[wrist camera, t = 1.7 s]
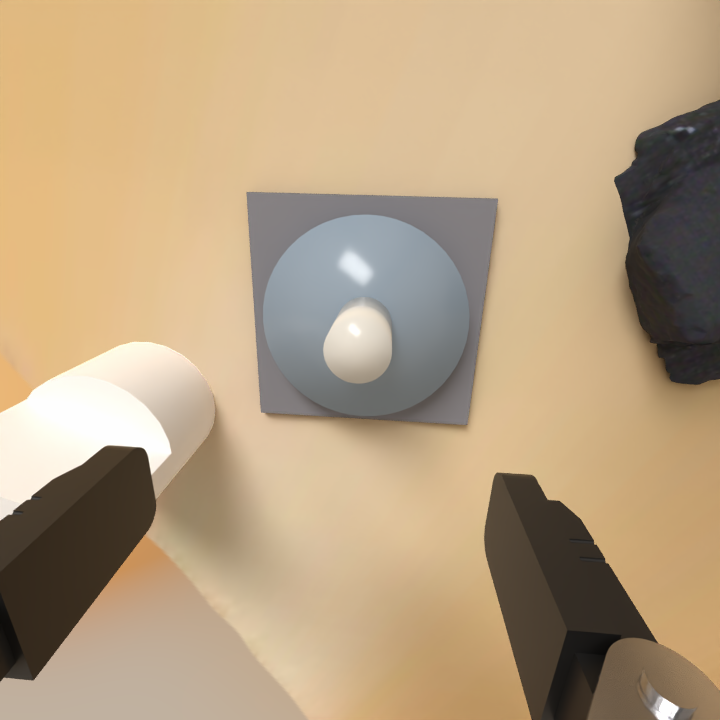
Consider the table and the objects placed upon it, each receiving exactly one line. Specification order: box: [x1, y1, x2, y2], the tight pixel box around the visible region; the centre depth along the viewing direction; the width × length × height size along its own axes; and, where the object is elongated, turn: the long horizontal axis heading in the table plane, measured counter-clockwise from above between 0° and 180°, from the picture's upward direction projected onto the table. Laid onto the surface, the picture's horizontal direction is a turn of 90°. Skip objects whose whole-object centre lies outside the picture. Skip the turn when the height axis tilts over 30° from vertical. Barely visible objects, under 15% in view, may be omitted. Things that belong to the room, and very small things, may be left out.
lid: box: [263, 214, 470, 416], centre depth 22 cm, size 12×12×6 cm
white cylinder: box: [0, 342, 216, 521], centre depth 23 cm, size 9×9×12 cm
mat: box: [247, 192, 498, 425], centre depth 25 cm, size 14×14×1 cm
